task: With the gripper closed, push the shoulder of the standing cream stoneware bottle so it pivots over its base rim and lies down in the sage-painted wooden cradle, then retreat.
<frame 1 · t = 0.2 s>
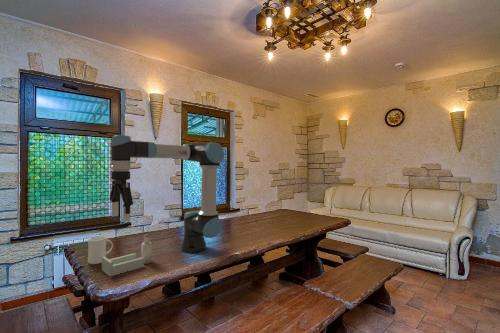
hand: (120, 218, 117), 28 cm above the table, fingers open, 13 cm apart
cradle: (123, 268, 131), on the table
mug: (100, 260, 141), on the table
bottle: (146, 261, 140), on the table
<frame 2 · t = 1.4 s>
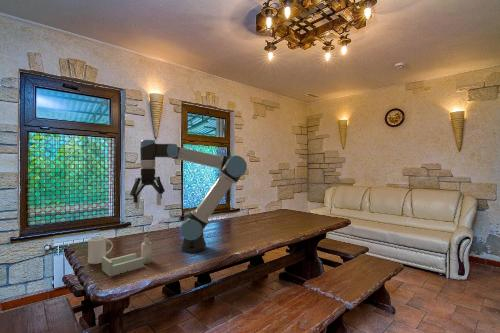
hand: (148, 206, 145), 28 cm above the table, fingers open, 13 cm apart
nothing on the table moved.
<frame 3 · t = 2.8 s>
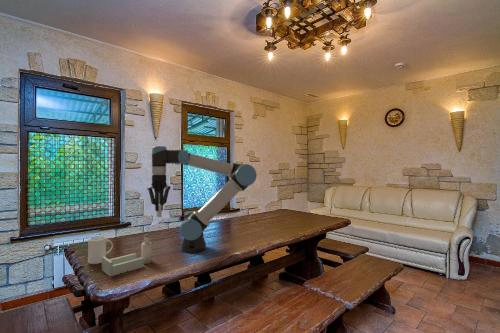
hand: (159, 216, 146), 23 cm above the table, fingers closed
nothing on the table moved.
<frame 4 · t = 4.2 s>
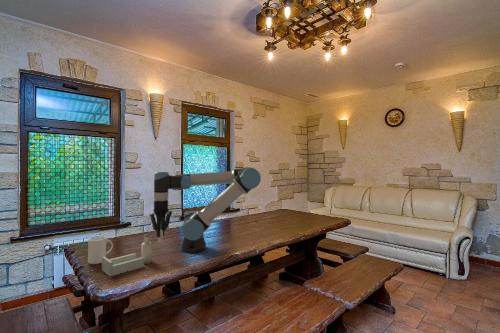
hand: (160, 242, 145), 9 cm above the table, fingers closed
nothing on the table moved.
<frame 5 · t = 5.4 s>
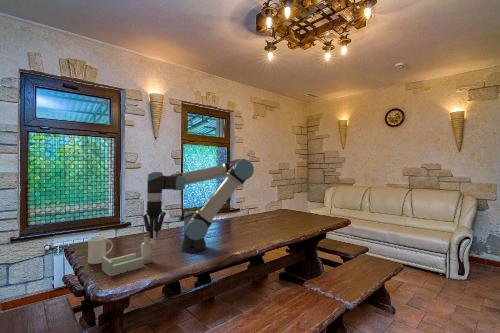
hand: (153, 243, 143), 9 cm above the table, fingers closed
bottle: (146, 261, 140), on the table, touching gripper
everything else where it was.
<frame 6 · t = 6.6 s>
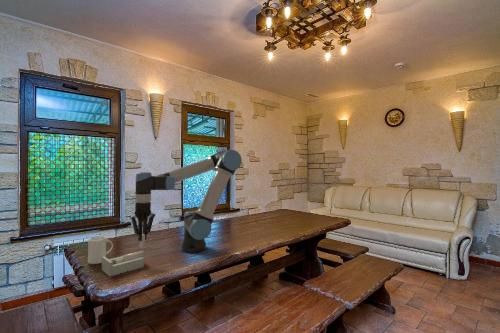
hand: (142, 246, 138), 9 cm above the table, fingers closed
bottle: (142, 255, 138), point 4 cm above the table, tilted 90°, touching cradle
everything else where it was.
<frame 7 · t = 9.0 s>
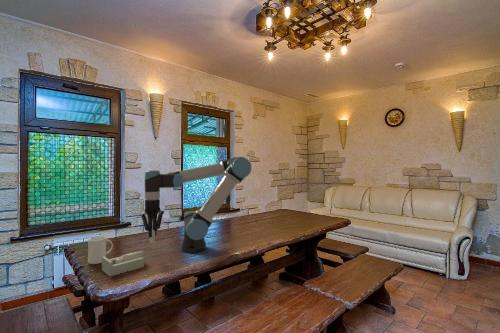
hand: (152, 242, 142), 9 cm above the table, fingers closed
nothing on the table moved.
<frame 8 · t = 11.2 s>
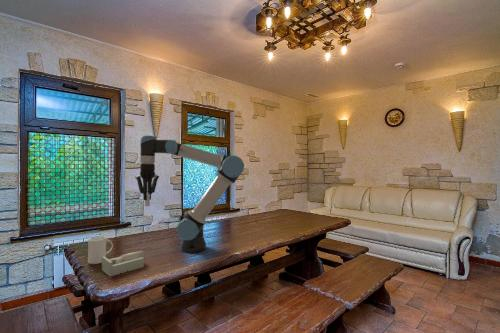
hand: (147, 205, 147), 28 cm above the table, fingers closed
nothing on the table moved.
at the end: bottle tilted 90°; bottle inside the target area on the cradle (2.6 cm from its centre), point 3.8 cm above the cradle's base; bottle point 3.8 cm above the table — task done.
